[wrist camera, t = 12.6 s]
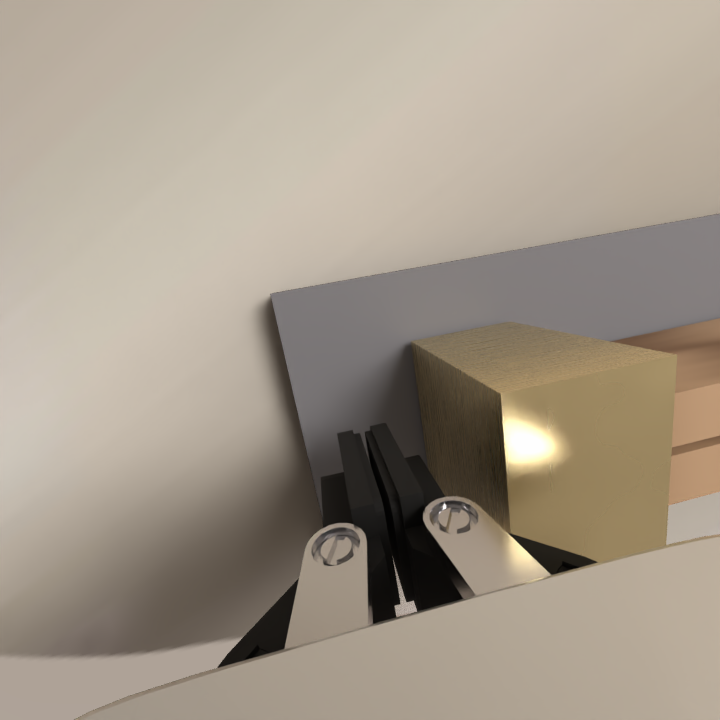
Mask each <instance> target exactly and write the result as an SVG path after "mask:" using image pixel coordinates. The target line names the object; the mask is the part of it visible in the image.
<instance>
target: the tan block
mask: <svg viewBox="0 0 720 720" xmlns="http://www.w3.org/2000/svg"><path fill="white" fill-rule="evenodd" d="M411 346H412V354H413V361H414V368H415V376H416V383H417V390H418V398H419V405H420V412H421V420H422V427H423V434H424V442H425V449H426V456H427V464H428V469H429V471H430V473H431V474H432V476H433V477H434V479H435V481H436V482H437V484H438V485H439V487H440V488H441V490H442V492H443V493H444V495H445V496H446V497H450V496H457V497H462V498H466V499H469V500H471V501H473V502H475V503H476V504H477V505H479V506H480V507H481V508H482V509H483V510H484V511H485V512H486V513H487V514H488V515H489V516H490V517H492V518H493V519H494V520H495V521H496V522H497V523H498V524H499V525H500V526H501V527H502V528H503V529H504V530H505V531H506V532H507V533H511V534H514V535H517V536H520V537H524V538H527V539H530V540H533V541H536V542H540V543H543V544H546V545H549V546H552V547H556V548H559V549H562V550H565V551H569V552H572V553H575V554H578V555H581V556H585V557H587V558H589V559H592V560H594V561H597V562H602V561H606V560H609V559H613V558H617V557H621V556H625V555H629V554H632V553H636V552H640V551H643V550H647V549H651V548H656V547H660V546H665V545H666V537H667V520H668V503H669V486H670V469H671V452H672V435H673V418H674V401H675V384H676V367H677V355H676V354H671V353H666V352H661V351H656V350H651V349H646V348H641V347H635V346H630V345H625V344H620V343H615V342H610V341H605V340H600V339H595V338H590V337H585V336H580V335H575V334H570V333H565V332H560V331H555V330H550V329H545V328H540V327H535V326H530V325H525V324H520V323H515V322H510V321H509V322H504V323H499V324H494V325H489V326H484V327H479V328H474V329H469V330H464V331H459V332H454V333H449V334H444V335H439V336H434V337H429V338H424V339H419V340H414V341H411Z"/></svg>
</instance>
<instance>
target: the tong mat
mask: <svg viewBox="0 0 720 720" xmlns="http://www.w3.org/2000/svg"><path fill="white" fill-rule="evenodd" d="M270 295H271V299H272V303H273V308H274V312H275V316H276V321H277V325H278V329H279V334H280V338H281V342H282V347H283V351H284V355H285V360H286V364H287V368H288V373H289V377H290V381H291V386H292V390H293V394H294V399H295V403H296V407H297V412H298V416H299V420H300V425H301V429H302V433H303V438H304V442H305V446H306V450H307V455H308V459H309V463H310V468H311V472H312V476H313V481H314V485H315V489H316V494H317V498H318V502H319V507H320V511H321V515H322V520H323V514H322V495H321V477H323V476H328V475H332V474H336V473H341V472H344V470H343V465H342V459H341V453H340V448H339V442H338V436H337V433H341V432H345V431H350V430H353V433H354V434H356V433H360V435H361V438H362V441H363V444H364V447H365V450H366V453H367V456H368V459H369V455H368V450H367V444H366V438H365V431H370V426H373V425H377V424H382V423H386V424H387V426H388V428H389V430H390V432H391V433H392V435H393V437H394V439H395V441H396V443H397V445H398V447H399V448H400V450H401V452H402V454H403V456H404V458H406V457H411V456H415V455H419V456H420V457H421V458H422V460H423V462H424V463H425V465H426V466H427V468H428V464H427V456H426V449H425V442H424V434H423V427H422V420H421V412H420V405H419V398H418V390H417V383H416V376H415V368H414V361H413V354H412V346H411V341H414V340H419V339H424V338H429V337H434V336H439V335H444V334H449V333H454V332H459V331H464V330H469V329H474V328H479V327H484V326H489V325H494V324H499V323H504V322H509V321H510V322H515V323H520V324H525V325H530V326H535V327H540V328H545V329H550V330H555V331H560V332H565V333H570V334H575V335H580V336H585V337H590V338H595V339H600V340H605V341H615V340H620V339H624V338H629V337H634V336H638V335H643V334H648V333H653V332H657V331H662V330H667V329H671V328H676V327H681V326H686V325H690V324H695V323H700V322H704V321H709V320H714V319H719V318H720V214H715V215H710V216H704V217H699V218H693V219H687V220H682V221H676V222H670V223H665V224H659V225H654V226H648V227H642V228H637V229H631V230H625V231H620V232H614V233H609V234H603V235H597V236H592V237H586V238H580V239H575V240H569V241H563V242H558V243H552V244H547V245H541V246H535V247H530V248H524V249H518V250H513V251H507V252H502V253H496V254H490V255H485V256H479V257H473V258H468V259H462V260H456V261H451V262H445V263H440V264H434V265H428V266H423V267H417V268H411V269H406V270H400V271H395V272H389V273H383V274H378V275H372V276H366V277H361V278H355V279H350V280H344V281H338V282H333V283H327V284H321V285H316V286H310V287H304V288H299V289H293V290H288V291H282V292H276V293H272V294H270ZM369 462H370V461H369Z"/></svg>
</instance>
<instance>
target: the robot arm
mask: <svg viewBox="0 0 720 720" xmlns="http://www.w3.org/2000/svg"><path fill="white" fill-rule="evenodd" d="M337 436H338V442H339V448H340V453H341V459H342V465H343V470H344V472H341V473H336V474H332V475H328V476H323V477H321V495H322V514H323V528H322V529H320V530H319V531H318V532H317V533H315V534H314V535H313V536H312V537H311V539H310V540H309V541H308V543H307V546H306V548H305V552H304V556H303V561H302V566H301V571H300V576H299V579H298V580H297V581H296V582H295V583H294V584H293V585H292V586H291V587H290V588H289V589H288V590H287V592H286V593H285V594H284V595H283V596H282V597H281V598H280V599H279V600H278V601H277V602H276V603H275V604H274V605H273V606H272V607H271V609H270V610H269V611H268V612H267V613H266V614H265V615H264V616H263V617H262V618H261V619H260V620H259V621H258V622H257V623H256V624H255V626H254V627H253V628H252V629H251V630H250V631H249V632H248V633H247V634H246V635H245V636H244V637H243V638H242V639H241V640H240V642H239V643H238V644H237V645H236V646H235V647H234V648H233V649H232V650H231V651H230V652H229V653H228V654H227V656H226V657H225V658H224V660H223V661H222V662H221V664H220V665H219V666H218V668H216V669H213V670H209V671H206V672H202V673H199V674H195V675H192V676H189V677H186V678H183V679H180V680H177V681H174V682H171V683H168V684H165V685H161V686H158V687H155V688H153V689H149V690H146V691H143V692H140V693H137V694H134V695H130V696H128V697H125V698H123V699H120V700H117V701H115V702H113V703H110V704H108V705H105V706H103V707H100V708H98V709H95V710H93V711H90V712H88V713H86V714H84V715H82V716H80V717H78V718H76V719H74V720H720V534H719V535H712V536H704V537H700V538H695V539H691V540H686V541H682V542H678V543H673V544H669V545H665V546H660V547H656V548H651V549H647V550H643V551H640V552H636V553H632V554H629V555H625V556H621V557H617V558H613V559H609V560H606V561H602V562H597V561H594V560H592V559H589V558H587V557H585V556H581V555H578V554H575V553H572V552H569V551H565V550H562V549H559V548H556V547H552V546H549V545H546V544H543V543H540V542H536V541H533V540H530V539H527V538H524V537H520V536H517V535H514V534H511V533H507V532H506V531H505V530H504V529H503V528H502V527H501V526H500V525H499V524H498V523H497V522H496V521H495V520H494V519H493V518H492V517H490V516H489V515H488V514H487V513H486V512H485V511H484V510H483V509H482V508H481V507H480V506H479V505H477V504H476V503H475V502H473V501H471V500H469V499H466V498H462V497H457V496H450V497H446V496H445V495H444V493H443V492H442V490H441V488H440V487H439V485H438V484H437V482H436V481H435V479H434V477H433V476H432V474H431V473H430V471H429V469H428V468H427V466H426V465H425V463H424V462H423V460H422V458H421V457H420V456H419V455H415V456H411V457H406V458H404V456H403V454H402V452H401V450H400V448H399V447H398V445H397V443H396V441H395V439H394V437H393V435H392V433H391V432H390V430H389V428H388V426H387V424H386V423H382V424H377V425H373V426H370V431H365V438H366V444H367V450H368V455H369V459H368V456H367V453H366V450H365V447H364V444H363V441H362V438H361V435H360V433H356V434H354V433H353V430H350V431H345V432H341V433H337ZM369 461H370V462H369ZM392 556H393V558H392ZM393 559H394V563H395V566H396V569H397V573H398V576H399V579H400V583H401V586H402V589H403V593H404V596H405V599H406V602H410V601H413V600H414V602H415V605H416V608H417V612H414V613H411V614H407V615H404V616H400V617H396V613H395V607H394V606H395V605H398V604H400V598H399V592H398V587H397V581H396V575H395V569H394V564H393Z"/></svg>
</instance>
